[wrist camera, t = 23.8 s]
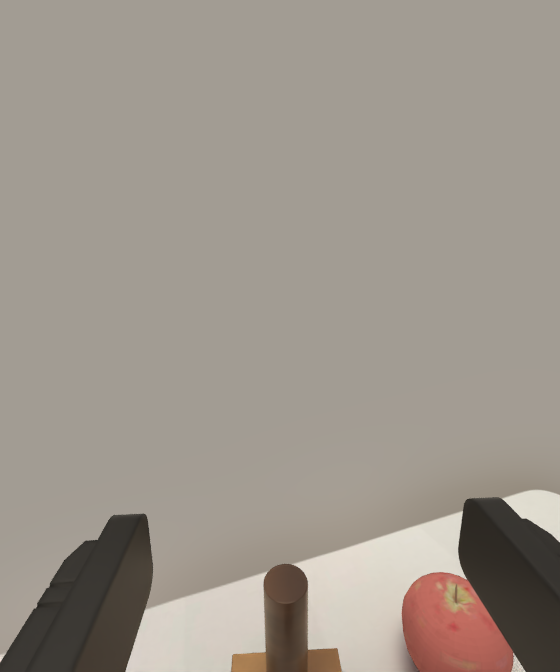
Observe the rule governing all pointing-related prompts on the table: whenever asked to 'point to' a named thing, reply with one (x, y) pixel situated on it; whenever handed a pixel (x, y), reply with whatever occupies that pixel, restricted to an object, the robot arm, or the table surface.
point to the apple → (451, 628)
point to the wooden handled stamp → (287, 629)
